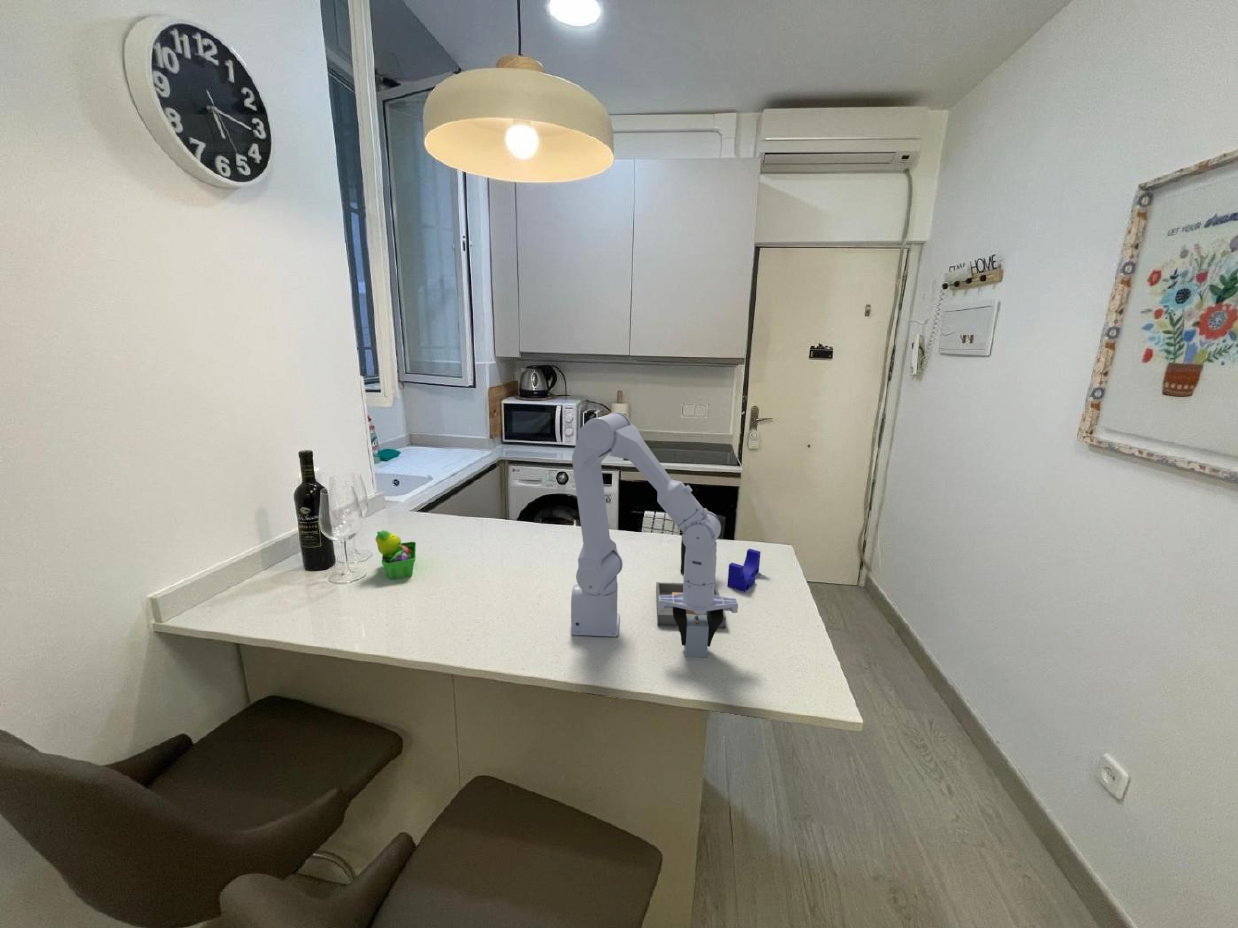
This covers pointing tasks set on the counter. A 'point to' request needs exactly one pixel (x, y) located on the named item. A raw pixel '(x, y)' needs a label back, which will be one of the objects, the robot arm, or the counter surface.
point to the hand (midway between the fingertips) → (695, 642)
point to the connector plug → (696, 635)
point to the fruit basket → (396, 555)
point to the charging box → (666, 615)
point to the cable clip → (744, 572)
